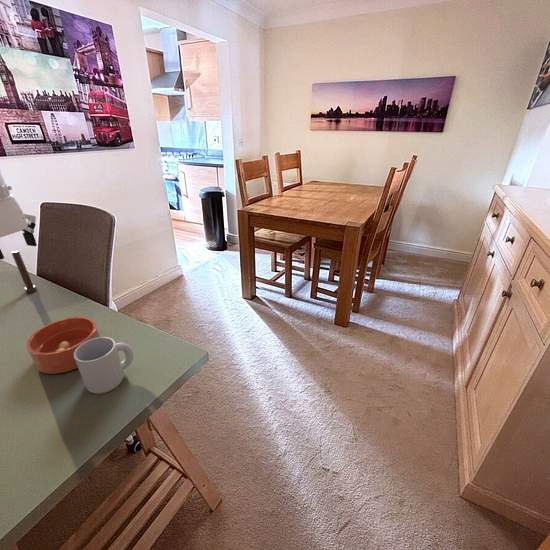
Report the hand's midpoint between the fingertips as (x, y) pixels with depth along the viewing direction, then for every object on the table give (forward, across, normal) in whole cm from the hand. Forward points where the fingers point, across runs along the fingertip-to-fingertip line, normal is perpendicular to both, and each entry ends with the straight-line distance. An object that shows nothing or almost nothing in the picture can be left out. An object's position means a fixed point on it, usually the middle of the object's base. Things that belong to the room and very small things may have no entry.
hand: (16, 251), depth 89 cm
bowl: (+13, +19, +35) cm, 42 cm away
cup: (+14, +23, +50) cm, 56 cm away
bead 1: (+12, +19, +33) cm, 40 cm away
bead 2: (+12, +21, +35) cm, 42 cm away
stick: (+13, 0, 0) cm, 13 cm away
